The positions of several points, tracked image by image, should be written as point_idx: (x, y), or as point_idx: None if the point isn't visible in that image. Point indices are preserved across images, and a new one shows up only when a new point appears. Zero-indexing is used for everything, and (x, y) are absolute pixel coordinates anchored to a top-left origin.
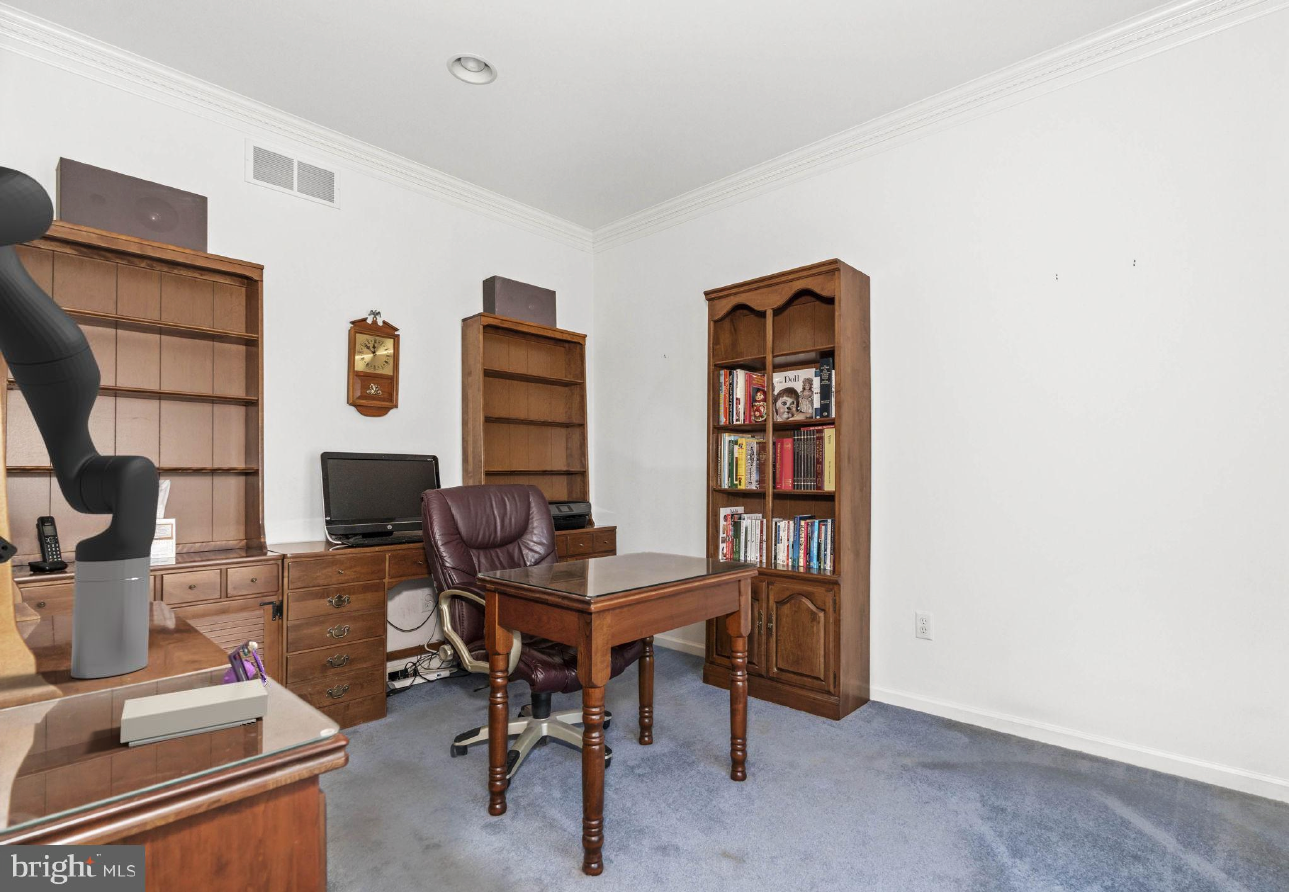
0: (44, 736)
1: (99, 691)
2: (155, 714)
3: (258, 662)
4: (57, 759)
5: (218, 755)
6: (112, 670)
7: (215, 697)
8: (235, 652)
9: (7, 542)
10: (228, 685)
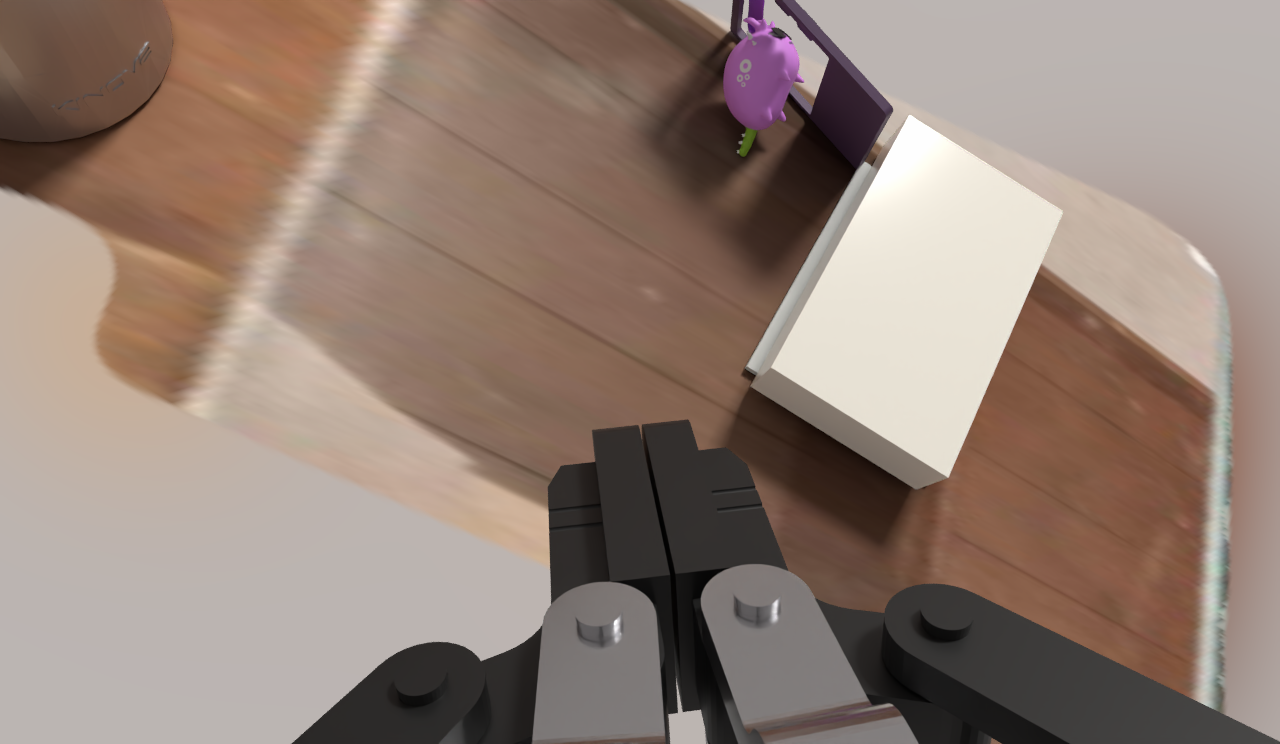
0: None
1: (301, 213)
2: (974, 413)
3: (760, 5)
4: (859, 602)
5: (1152, 436)
6: (148, 81)
7: (972, 269)
8: (861, 75)
9: (751, 487)
10: (893, 183)
